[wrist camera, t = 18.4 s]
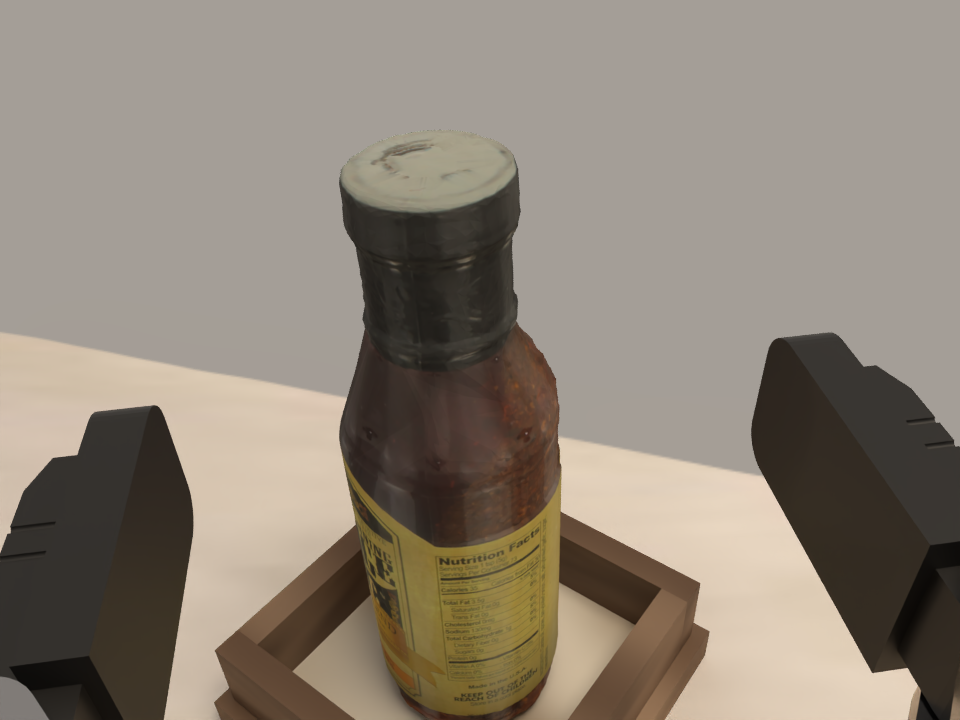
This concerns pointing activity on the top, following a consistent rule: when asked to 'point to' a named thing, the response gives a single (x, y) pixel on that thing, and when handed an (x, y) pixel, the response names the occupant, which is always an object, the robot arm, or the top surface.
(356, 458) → the sauce bottle
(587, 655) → the frame
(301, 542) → the top surface
